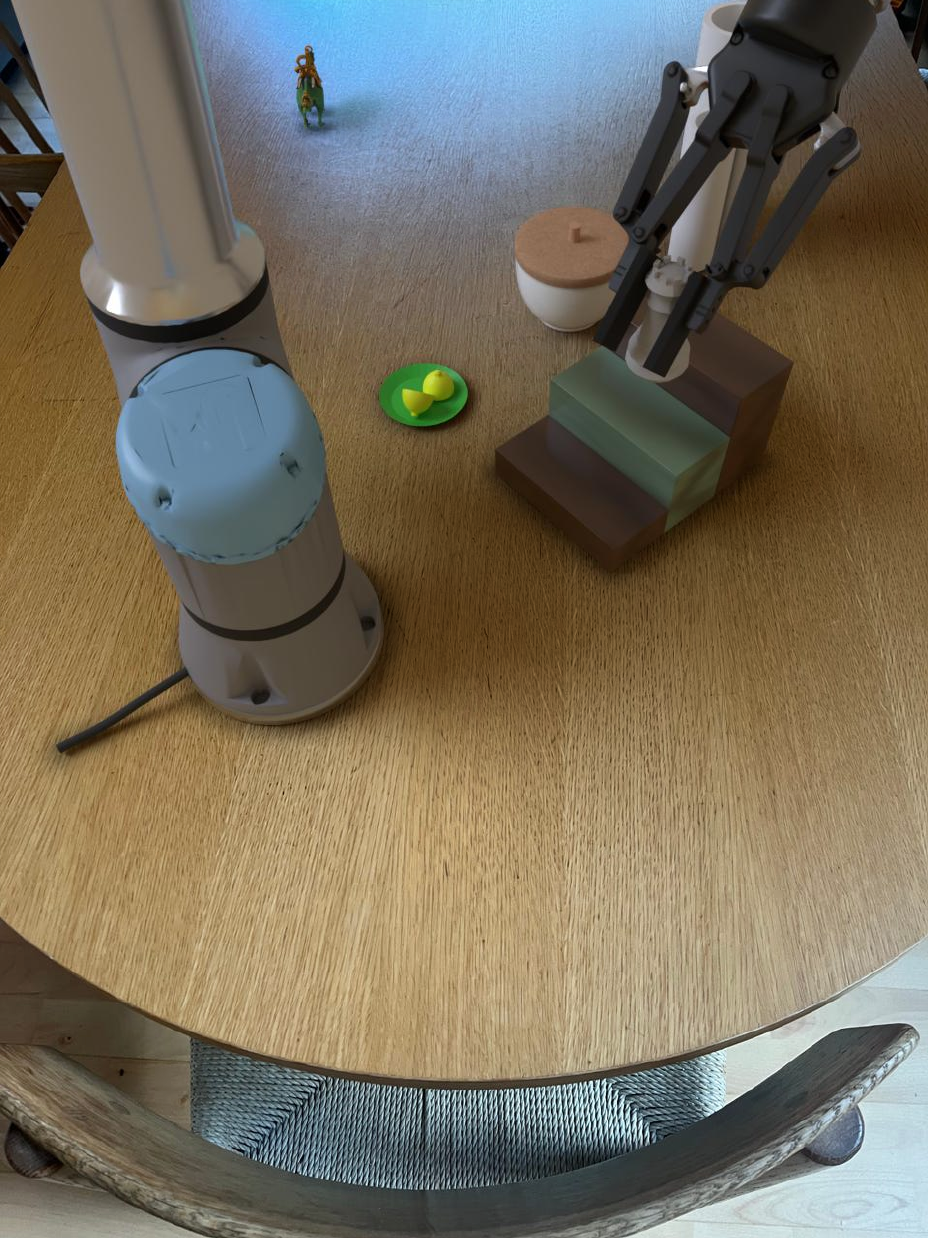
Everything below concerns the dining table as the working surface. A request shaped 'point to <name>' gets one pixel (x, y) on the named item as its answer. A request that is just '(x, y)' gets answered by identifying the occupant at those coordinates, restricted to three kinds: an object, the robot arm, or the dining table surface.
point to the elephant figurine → (309, 87)
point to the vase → (715, 197)
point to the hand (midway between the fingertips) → (628, 358)
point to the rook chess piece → (659, 318)
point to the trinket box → (568, 265)
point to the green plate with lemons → (423, 394)
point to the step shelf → (646, 439)
